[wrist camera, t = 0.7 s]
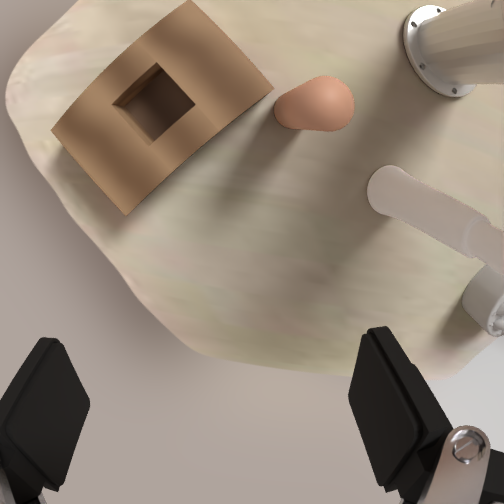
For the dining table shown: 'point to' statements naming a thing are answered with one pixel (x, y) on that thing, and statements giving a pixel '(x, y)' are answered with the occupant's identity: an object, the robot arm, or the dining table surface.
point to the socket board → (159, 105)
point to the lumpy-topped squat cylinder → (486, 300)
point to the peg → (316, 105)
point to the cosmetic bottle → (436, 215)
